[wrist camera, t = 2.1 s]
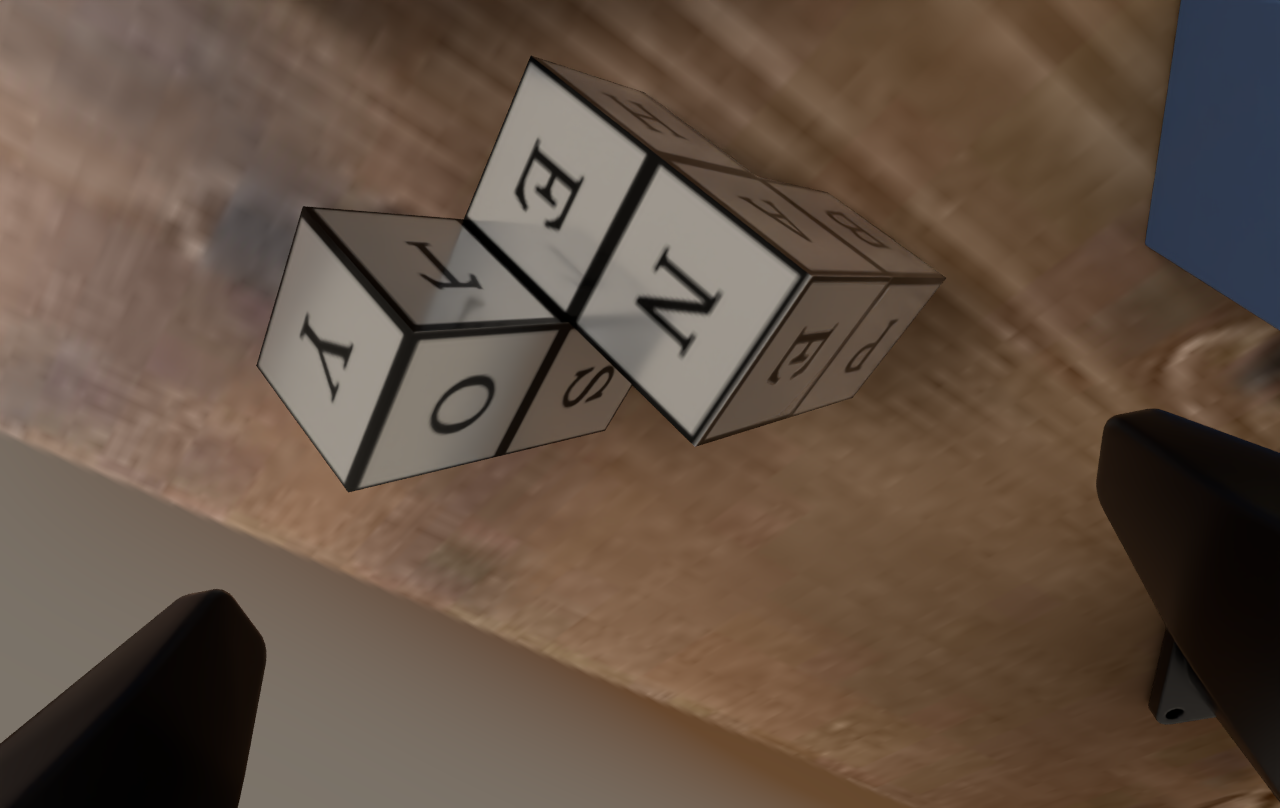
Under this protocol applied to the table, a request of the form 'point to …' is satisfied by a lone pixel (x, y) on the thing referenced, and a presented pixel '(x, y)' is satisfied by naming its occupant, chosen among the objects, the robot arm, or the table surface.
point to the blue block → (1223, 153)
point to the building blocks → (580, 295)
